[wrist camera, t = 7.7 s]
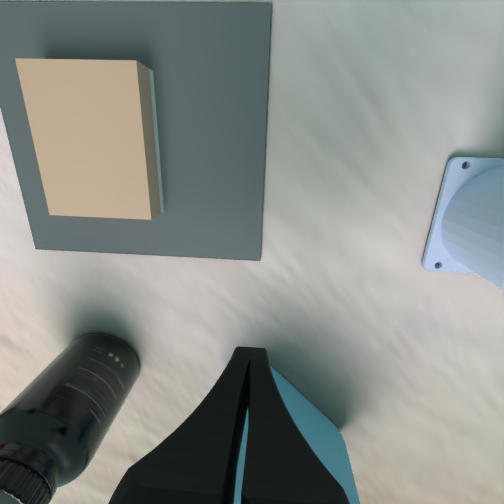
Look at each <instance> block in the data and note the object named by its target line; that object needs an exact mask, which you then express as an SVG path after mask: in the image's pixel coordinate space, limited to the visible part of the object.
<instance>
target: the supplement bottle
mask: <svg viewBox="0 0 504 504" xmlns="http://www.w3.org/2000/svg"><path fill="white" fill-rule="evenodd" d="M138 373H139V364H138V360H137V357H136V355H135V353H134V352H133V350H132V349H131V348H130V347H129V346H128V345H127V344H126V343H125V342H123V341H122V340H120V339H118V338H116V337H114V336H112V335H108V334H103V333H91V334H86V335H83V336H81V337H79V338H77V339H75V340H74V341H73V342H72V343H71V344H70V345H69V346H67V347H66V348H65V349H64V350H63V351H62V352H61V353H60V354H59V355H58V356H57V357H56V358H55V359H54V360H53V361H52V362H51V363H50V364H49V365H48V366H47V367H46V368H45V369H44V370H43V371H42V372H41V373H40V374H39V375H38V376H37V377H36V378H35V379H34V380H33V381H32V382H31V383H30V384H29V385H28V386H27V387H26V388H25V389H24V390H23V391H22V392H21V393H20V394H19V395H18V396H17V397H16V398H15V399H14V400H13V401H12V402H11V403H10V404H9V405H8V406H7V407H6V408H5V409H4V410H3V411H2V412H1V413H0V504H49V502H50V501H51V499H52V498H53V496H54V494H55V492H56V489H57V487H61V486H63V485H66V484H68V483H70V482H71V481H73V480H74V479H76V478H77V477H78V476H79V475H81V474H82V473H83V472H84V470H85V469H86V468H87V466H88V465H89V463H90V462H91V460H92V458H93V457H94V455H95V453H96V451H97V449H98V448H99V446H100V444H101V442H102V441H103V439H104V437H105V435H106V434H107V432H108V430H109V428H110V426H111V425H112V423H113V421H114V419H115V418H116V416H117V414H118V412H119V410H120V409H121V407H122V405H123V403H124V402H125V400H126V398H127V396H128V394H129V393H130V391H131V389H132V387H133V385H134V383H135V382H136V379H137V377H138Z"/></svg>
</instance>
